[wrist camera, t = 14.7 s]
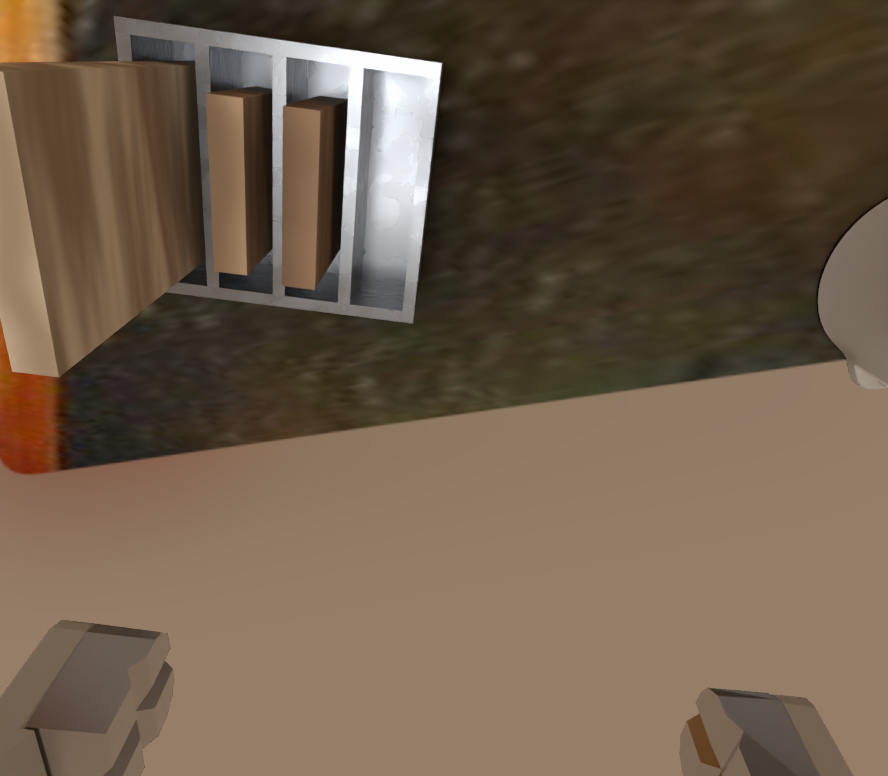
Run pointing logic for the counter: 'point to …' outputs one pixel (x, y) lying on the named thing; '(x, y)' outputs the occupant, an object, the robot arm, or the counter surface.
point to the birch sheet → (93, 201)
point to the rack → (366, 160)
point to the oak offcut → (240, 177)
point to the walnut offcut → (312, 188)
